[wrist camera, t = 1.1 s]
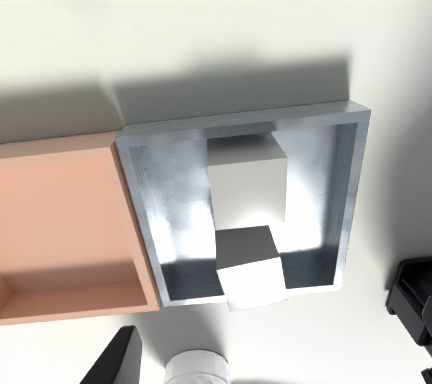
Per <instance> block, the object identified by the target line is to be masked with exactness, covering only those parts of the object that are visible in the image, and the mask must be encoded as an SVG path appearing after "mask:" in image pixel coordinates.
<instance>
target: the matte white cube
mask: <svg viewBox="0 0 432 384" xmlns="http://www.w3.org/2000/svg"><path fill="white" fill-rule="evenodd" d="M287 160H288V158H287V156H286V155H285V153H284V152H283V150H282V149H281V147H280V146H279V144H278V143H277V141H276V140H275V138H274V137H273V135H272V133H264V134H255V135H246V136H237V137H228V138H219V139H209V140H207V168H208V176H209V184H210V192H211V199H212V207H213V215H214V223H215V230H223V229H233V228H243V227H253V226H262V225H272V224H282V223H286V198H287Z"/></svg>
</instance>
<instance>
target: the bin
mask: <svg viewBox="0 0 432 384" xmlns="http://www.w3.org/2000/svg"><path fill="white" fill-rule="evenodd" d="M370 114H371V109H368V108H366V107H364V106H362V105H360V104H358V103H355V102H353V101H351V100H345V101H336V102H326V103H317V104H308V105H299V106H290V107H281V108H272V109H263V110H254V111H245V112H236V113H227V114H218V115H209V116H200V117H191V118H182V119H173V120H164V121H155V122H146V123H137V124H128V125H125V126H124V128H123V129H122V130H121V131H120V132H119V133H118V134H117V136H116V137H115V142H116V145H117V149H118V152H119V156H120V159H121V162H122V166H123V169H124V173H125V176H126V180H127V183H128V186H129V190H130V193H131V197H132V200H133V204H134V207H135V210H136V214H137V217H138V221H139V224H140V227H141V231H142V234H143V238H144V241H145V245H146V248H147V251H148V255H149V258H150V262H151V265H152V269H153V272H154V275H155V279H156V282H157V286H158V289H159V293H160V296H161V299H162V303H163V306H164V307H169V306H180V305H190V304H200V303H211V302H221V301H227V300H226V297H225V294H224V291H223V288H222V285H221V283H220V280H219V277H218V274H217V271H216V251H215V231H217V230H215V223H214V215H213V207H212V199H211V192H210V184H209V176H208V168H207V140H209V139H219V138H228V137H237V136H246V135H255V134H264V133H272V135H273V137H274V138H275V140H276V141H277V143H278V144H279V146H280V147H281V149H282V150H283V152H284V153H285V155H286V156H287V158H288V160H287V198H286V223H282V224H272V225H269V226H270V229H271V232H272V235H273V238H274V241H275V244H276V247H277V250H278V253H279V256H280V260H281V266H282V271H283V277H284V283H285V288H286V294H287V295H293V294H303V293H313V292H324V291H334V290H341V284H342V278H343V272H344V266H345V261H346V255H347V249H348V243H349V237H350V231H351V225H352V220H353V214H354V208H355V202H356V196H357V190H358V184H359V178H360V173H361V167H362V161H363V155H364V149H365V143H366V137H367V132H368V126H369V120H370Z"/></svg>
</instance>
